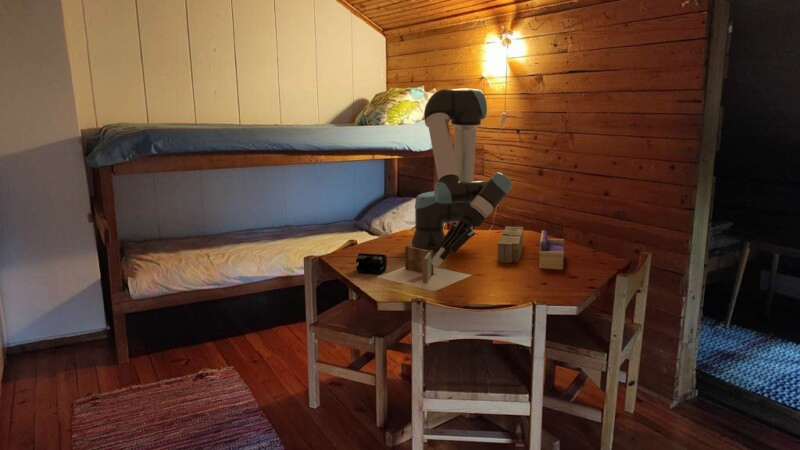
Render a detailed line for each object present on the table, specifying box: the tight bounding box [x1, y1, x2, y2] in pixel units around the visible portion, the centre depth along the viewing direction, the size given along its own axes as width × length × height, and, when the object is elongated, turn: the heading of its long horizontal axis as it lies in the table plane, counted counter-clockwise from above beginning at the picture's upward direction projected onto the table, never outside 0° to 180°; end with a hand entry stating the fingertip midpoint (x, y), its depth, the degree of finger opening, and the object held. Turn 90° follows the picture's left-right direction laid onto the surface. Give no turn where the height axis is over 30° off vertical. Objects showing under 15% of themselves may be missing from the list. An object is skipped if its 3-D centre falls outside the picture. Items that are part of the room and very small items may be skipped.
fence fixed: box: [404, 245, 434, 275], centre depth 201 cm, size 12×2×8 cm, turn 50°
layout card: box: [377, 266, 472, 292], centre depth 197 cm, size 25×22×1 cm
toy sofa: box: [538, 230, 565, 270], centre depth 214 cm, size 21×9×10 cm, turn 164°
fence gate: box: [423, 252, 431, 283], centre depth 192 cm, size 10×2×8 cm, turn 167°
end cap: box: [355, 252, 388, 276], centre depth 203 cm, size 10×7×7 cm
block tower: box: [497, 226, 525, 263], centre depth 227 cm, size 8×8×29 cm
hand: (433, 264), depth 192 cm, fingers closed
